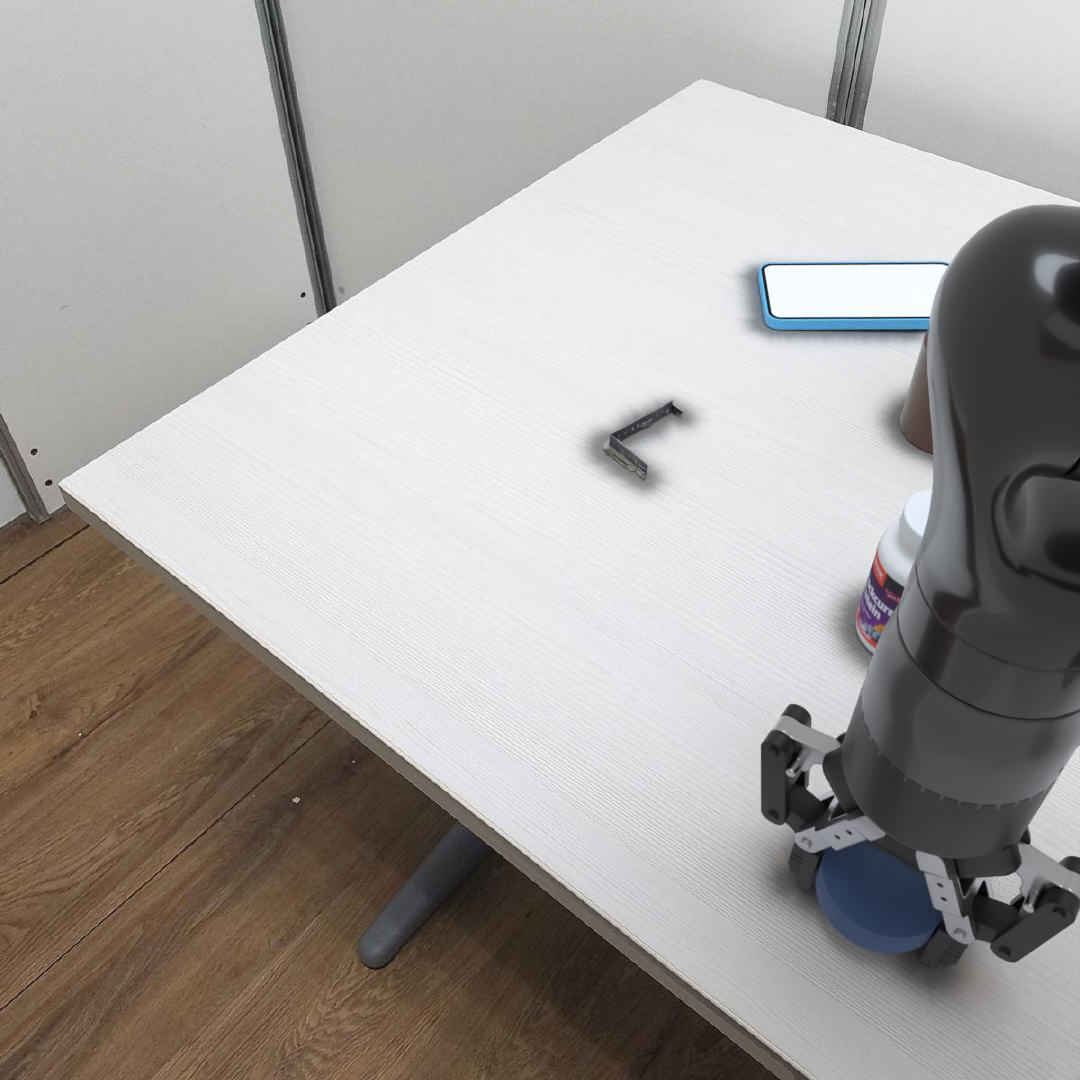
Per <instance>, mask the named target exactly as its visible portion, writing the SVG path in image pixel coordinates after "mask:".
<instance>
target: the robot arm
mask: <svg viewBox="0 0 1080 1080" xmlns="http://www.w3.org/2000/svg"><path fill="white" fill-rule="evenodd" d="M949 263H950V264H949V265H948V267H947V269H946V271H945V272H944V274H943V276H942V278H941V280H940V283H939V285H938V288H937V290H936V293H935V297H934V300H933V304H932V308H931V313H930V320H929V327H928V329H927V330H928V341H927V375H928V389H929V402H930V414H931V425H932V437H933V454H932V461H933V462H932V488H931V489H932V496H931V502H930V509H929V514H928V519H927V523H926V527H925V531H924V534H923V537H922V540H921V543H920V546H919V549H918V551H917V554H916V557H915V560H914V563H913V566H912V568H911V571H910V574H909V577H908V580H907V582H906V585H905V588H904V591H903V594H902V596H901V599H900V602H899V604H898V606H897V607H896V609H895V611H894V612H893V614H892V615H891V617H890V619H889V620H888V622H887V624H886V625H885V627H884V629H883V631H882V633H881V636H880V638H879V641H878V643H877V646H876V648H875V651H874V654H873V653H872V657H871V660H870V663H869V665H868V669H867V671H866V674H865V677H864V680H863V684H862V686H861V688H860V692H859V695H858V697H857V701H856V704H855V707H854V708H853V712H852V715H851V718H850V721H849V724H848V726H847V729H846V731H844V732H842V733H840V734H838V736H837V737H833V736H831V735H829V734H826V733H824V732H822V731H820V730H817V729H814V728H812V722H813V721H812V715H811V714H810V712H809V711H808V710H807V709H806V708H805V707H803V706H802V705H799V704H798V703H797V704H796V703H789V704H787V706H786V707H785V709H784V710H783V712H782V713H781V714H780V716H779V718H778V719H777V721H776V722H775V723H774V725H773V727H772V728H771V730H770V731H769V732H768V734H767V735H766V736H765V738H764V739H763V741H762V742H761V744H760V812H761V815H762V816H763V817H764V819H766V820H767V821H768V822H770V823H772V824H773V825H776V826H783V825H785V824H786V825H787V826H788V827H789V828H790V829H791V830H792V831H793V832H794V835H793V841H794V843H793V845H792V848H791V850H790V851H791V852H790V855H789V857H788V860H787V864H788V868H789V870H791V871H792V872H794V873H795V874H797V876H796V878H795V881H794V884H795V885H797V886H798V887H800V888H802V889H803V890H805V891H806V892H809V891H810V889H811V887H812V886H813V884H814V883H815V879H816V872H817V869H818V866H819V863H820V861H821V858H822V855H823V852H824V851H825V849H826V848H829V847H832V848H833V849H834V850H835V851H838V850H841V849H843V848H846V847H849V846H851V845H854V844H857V843H859V842H862V841H863V842H865V843H866V844H868V845H870V846H872V847H873V848H875V849H877V850H879V851H882V852H884V853H886V854H889V855H891V856H894V857H895V858H897V859H898V860H900V861H901V862H902V863H904V864H905V865H906V866H908V867H909V868H910V869H911V870H913V871H915V872H917V873H918V874H920V875H922V876H924V877H925V879H926V883H927V887H928V890H929V894H930V898H931V901H932V905H933V908H934V909H937V910H940V911H941V912H942V916H943V920H942V922H941V924H940V925H939V927H938V929H937V931H936V932H935V934H934V936H933V937H932V938H931V939H930V940H929V941H928V942H927V945H926V946H925V948H924V950H923V952H922V955H921V957H920V958H919V961H921V962H922V963H924V964H926V965H927V966H929V967H931V968H932V969H935V968H936V966H937V965H938V963H939V961H940V962H942V963H944V964H945V965H947V966H949V967H951V966H955V965H957V963H958V962H959V960H960V959H961V958H962V955H964V953H965V952H966V950H967V948H968V947H969V945H972V944H974V942H975V941H982V942H985V943H988V944H989V948H990V951H991V952H992V954H993V955H995V956H996V957H997V958H999V959H1000V960H1002V961H1004V962H1008V963H1018V962H1020V961H1021V960H1023V958H1025V957H1026V956H1028V955H1029V954H1030V953H1032V952H1033V951H1035V950H1036V949H1039V948H1040V947H1041V946H1042V945H1044V944H1045V943H1046V942H1048V941H1050V940H1051V939H1052V938H1054V937H1055V936H1057V935H1058V934H1060V933H1062V932H1063V931H1064V930H1066V929H1067V928H1068V927H1070V926H1071V925H1073V924H1074V923H1075V921H1076V919H1077V918H1078V915H1079V912H1080V857H1079V856H1074V855H1068V856H1065V857H1064V858H1062V859H1061V860H1060V861H1056V860H1054V859H1053V858H1052V857H1050V856H1049V855H1047V854H1045V853H1044V852H1043V851H1041V850H1039V849H1038V848H1036V847H1034V846H1033V845H1032V844H1031V843H1032V836H1031V831H1030V828H1029V825H1030V824H1031V822H1032V820H1033V819H1034V817H1035V815H1036V814H1037V812H1038V811H1039V809H1040V808H1041V806H1042V804H1043V803H1044V801H1045V800H1046V798H1047V796H1048V795H1049V793H1050V791H1051V790H1052V788H1053V787H1054V786H1055V784H1056V782H1057V780H1058V779H1059V778H1060V776H1061V773H1062V772H1063V770H1064V769H1065V767H1066V766H1067V764H1068V762H1069V761H1070V759H1071V758H1072V756H1073V755H1074V753H1075V752H1076V750H1077V749H1078V747H1080V206H1077V205H1076V206H1075V205H1066V204H1055V203H1052V204H1031V205H1027V206H1023V207H1018V208H1014V209H1011V210H1010V211H1007V212H1005V213H1003V214H1002V215H998V217H995V218H994V219H992V220H991V221H990V222H988V223H987V224H986V225H984V226H983V227H981V228H980V229H979V230H978V231H977V232H976V233H974V235H972V236H971V237H970V238H969V239H968V241H966V242H965V243H964V244H963V245H962V246H961V247H960V249H959V250H958V251H957V253H956V254H955V255H954V257H953V258H952V260H951V261H950V262H949ZM814 765H821V767H822V773H823V775H824V777H825V779H826V781H827V783H828V785H829V787H830V789H831V791H828V792H827V793H824V794H822V795H820V796H816V795H814V794H813V793H812V792H811V791H809V789H808V787H809V785H810V771H811V769H812V767H814ZM1014 873H1015V874H1016V875H1017V876H1018V878H1019V879H1020V881H1021V884H1020V886H1019V894H1017V895H1016V896H1015V897H1013V898H1012V899H1010V901H1009V903H1006V902H1003V901H1000V900H998V899H996V897H995V893H994V888H993V885H992V880H991V878H994V877H1007V876H1010V875H1012V874H1014Z"/></svg>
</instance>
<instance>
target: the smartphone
mask: <svg viewBox="0 0 1080 1080" xmlns="http://www.w3.org/2000/svg"><path fill="white" fill-rule="evenodd" d="M950 263H951V262H946V261H944V260H943V261H941V260H922V261H921V260H918V261H917V260H916V261H915V260H913V261H912V260H911V261H910V260H909V261H908V260H906V261H904V260H903V261H902V260H901V261H778V262H777V261H773V262H772V261H771V262H766V263H763V264H761V265H760V266H759V269H758V273H757V274H758V276H757V282H758V288H759V295H760V300H761V307H762V313H763V319H764V320H763V321H764V323H765V324H766V326H767V327H769V328H771V329H774V330H781V331H784V330H786V331H790V330H791V331H793V330H794V331H796V330H797V331H798V330H799V331H801V330H803V331H804V330H808V331H809V330H814V331H815V330H821V331H823V330H928V327H929V320H930V313H931V308H932V304H933V300H934V297H935V293H936V290H937V288H938V285H939V283H940V280H941V278H942V276H943V274H944V272H945V271H946V269H947V267H948V265H949V264H950Z"/></svg>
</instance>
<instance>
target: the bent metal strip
mask: <svg viewBox="0 0 1080 1080" xmlns="http://www.w3.org/2000/svg"><path fill="white" fill-rule="evenodd" d="M671 412H672V413H674V414H678V415H683V414H684V411H683V410H682V408H680V407H678V406H677V405H676V402H675V401H674V399H671V400H669V401H667V402H665V403H664V404H663V405H660V406H658V407H657V408H656V409H654V410H651V411H650V412H647V413H646V414H644V415H642V416H640V417H639V418H636V419H634V420H633V421H632V422H629V423H627V424H625V425H624V426H622V425H621V426H620V427H619V428H617V429H615V430H613V431H611V432H610V433H609V438H608V439H607V440H605V441H604V444H603V445H602V449H603V451H604V453H605V454H606V455H605V456H607V455H609V456H610V457H611V458H613V459H614V460H615V461H616V462H618V463H619V464H620V465H621V466H623V467H624V468H625V469H628V470H629V471H630V472H632V473H635V474H636V475H637V477H639V478H640V479H641V480H645V478H646V477H647V475H648V467H649V466H648V463H646V462H645V461H644V460H642V459H641V457H639V456H638V455H636V454H635V453H634V452H633V451H632V450H631V449H630V448H629V447H628V446H626V445H625V444H623V441H622V440H623V439H625V438H628V437H629V436H630V435H632V434H635V433H636V432H637V431H640V430H642V429H646V428H647V427H650V426H651V425H652V423H654V422H655V421H657V420H659V419H660V418H662V417H663V416H666V415H667V414H669V413H671Z"/></svg>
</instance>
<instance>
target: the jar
mask: <svg viewBox="0 0 1080 1080" xmlns="http://www.w3.org/2000/svg"><path fill="white" fill-rule="evenodd" d="M927 341H928V329H926V332H925V333H924V336H923V340H922V342H921V346H920V350H919V353H918V356H917V360H916V363H915V367H914V370H913V373H912V377H911V380H910V382H909V383H910V384H909V387H908V390H907V394H906V397H905V400H904V404H903V407H902V411H901V414H900V417H899V428H900V430H901V433H902V434H903V436H904V437H905V438H906V440H908V442H909V443H911V444H912V445H913V446H915V447H916V448H918V449H920V450H922V451H924V452H927V453H930V454H932V455H933V437H932V425H931V414H930V402H929V389H928V375H927Z"/></svg>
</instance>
